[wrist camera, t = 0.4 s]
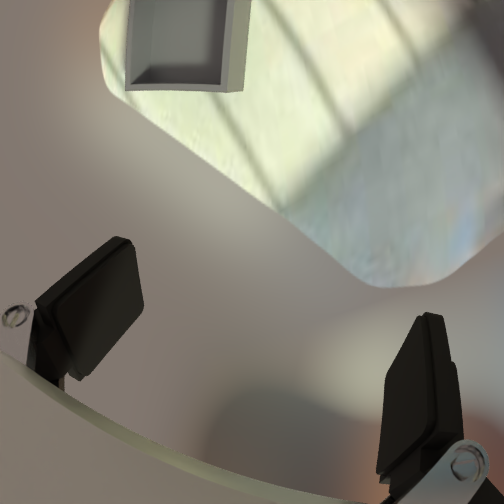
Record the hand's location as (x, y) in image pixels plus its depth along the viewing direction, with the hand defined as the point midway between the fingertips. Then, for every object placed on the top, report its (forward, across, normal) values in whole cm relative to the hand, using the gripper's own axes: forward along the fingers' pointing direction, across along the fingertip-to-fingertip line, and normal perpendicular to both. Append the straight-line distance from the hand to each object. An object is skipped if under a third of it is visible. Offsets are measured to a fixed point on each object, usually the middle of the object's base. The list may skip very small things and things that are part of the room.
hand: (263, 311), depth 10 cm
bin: (+30, +18, -11) cm, 37 cm away
